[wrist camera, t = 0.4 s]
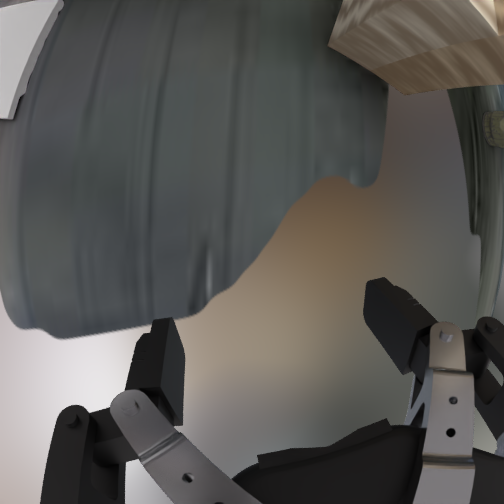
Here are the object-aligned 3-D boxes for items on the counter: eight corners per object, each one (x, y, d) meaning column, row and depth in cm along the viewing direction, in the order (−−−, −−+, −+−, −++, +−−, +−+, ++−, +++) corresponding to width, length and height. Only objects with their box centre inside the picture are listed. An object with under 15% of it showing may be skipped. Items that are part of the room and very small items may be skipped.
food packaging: (5, 15, 18) (-37, 119, 22) (-3, 9, 15) (-48, 118, 19) (66, 6, 22) (18, 120, 26) (60, -3, 19) (7, 118, 23)
